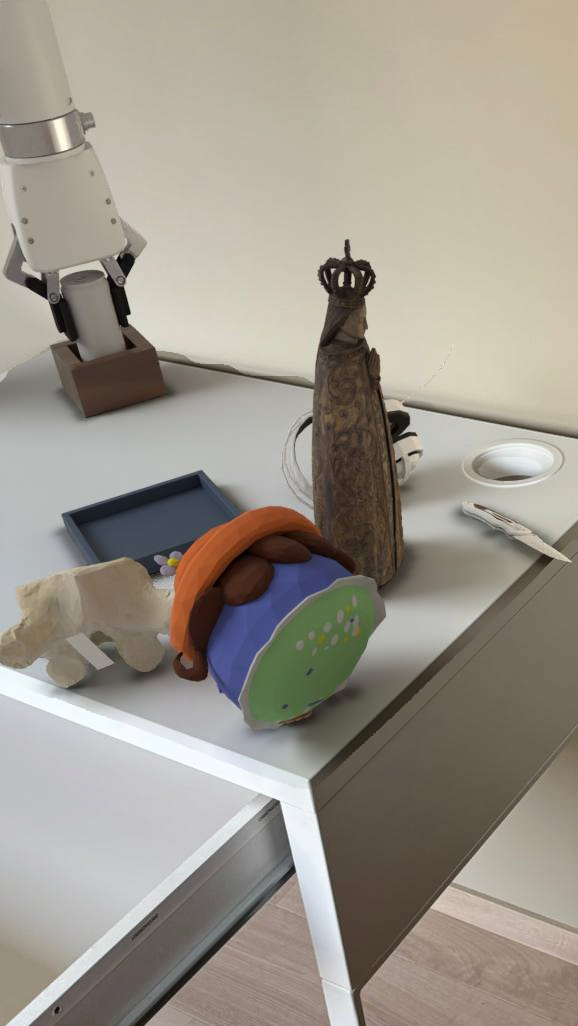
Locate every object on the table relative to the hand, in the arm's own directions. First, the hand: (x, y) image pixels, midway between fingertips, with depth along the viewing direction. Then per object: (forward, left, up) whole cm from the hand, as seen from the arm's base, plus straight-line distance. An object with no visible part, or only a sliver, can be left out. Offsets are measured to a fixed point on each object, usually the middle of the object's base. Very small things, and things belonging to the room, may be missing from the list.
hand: (96, 328), depth 125 cm
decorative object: (+47, -17, +1) cm, 50 cm away
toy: (+69, -4, -2) cm, 69 cm away
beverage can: (0, 0, -7) cm, 7 cm away
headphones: (+38, +15, -7) cm, 41 cm away
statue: (+51, +6, -7) cm, 52 cm away
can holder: (0, 0, -7) cm, 7 cm away
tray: (+34, -6, -7) cm, 35 cm away
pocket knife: (+54, +18, -6) cm, 57 cm away
